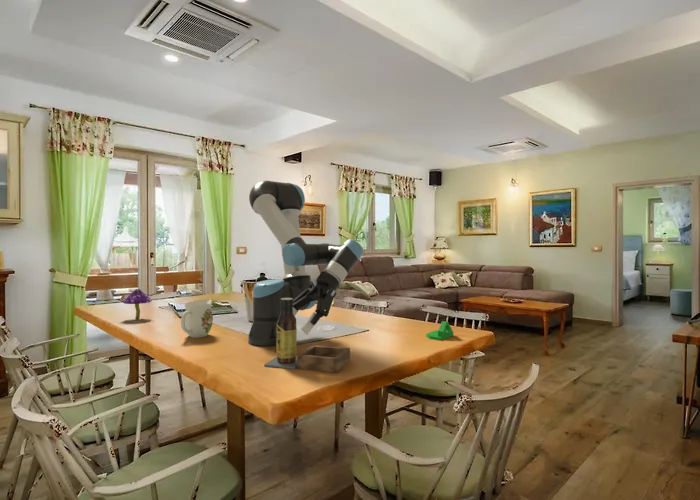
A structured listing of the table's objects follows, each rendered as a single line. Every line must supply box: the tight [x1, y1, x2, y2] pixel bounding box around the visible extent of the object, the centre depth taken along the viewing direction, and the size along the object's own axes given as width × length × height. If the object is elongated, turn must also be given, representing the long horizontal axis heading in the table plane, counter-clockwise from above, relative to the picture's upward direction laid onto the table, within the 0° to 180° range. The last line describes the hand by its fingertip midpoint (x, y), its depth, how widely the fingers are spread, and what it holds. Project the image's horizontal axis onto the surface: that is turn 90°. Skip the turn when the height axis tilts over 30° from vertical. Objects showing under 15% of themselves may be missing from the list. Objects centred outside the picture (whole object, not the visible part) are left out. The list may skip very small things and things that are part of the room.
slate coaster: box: [264, 356, 297, 370], centre depth 127 cm, size 10×10×1 cm
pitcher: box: [180, 298, 214, 339], centre depth 162 cm, size 11×18×14 cm, turn 164°
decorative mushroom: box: [122, 288, 152, 320], centre depth 195 cm, size 12×12×15 cm
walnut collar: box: [296, 344, 351, 374], centre depth 126 cm, size 13×13×4 cm
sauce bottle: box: [276, 298, 298, 363], centre depth 127 cm, size 6×6×20 cm
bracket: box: [426, 320, 454, 342], centre depth 166 cm, size 12×8×7 cm, turn 141°
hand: (292, 328), depth 128 cm, fingers open, 13 cm apart
